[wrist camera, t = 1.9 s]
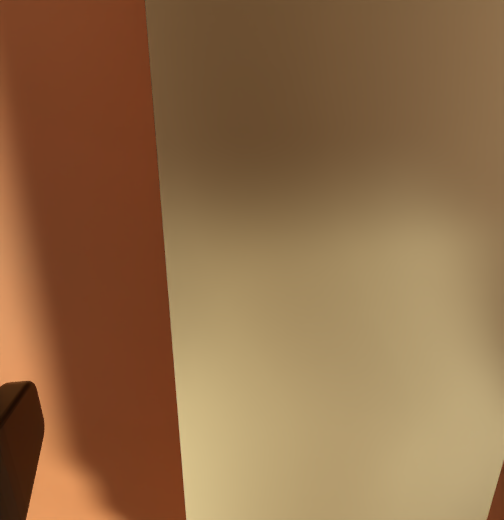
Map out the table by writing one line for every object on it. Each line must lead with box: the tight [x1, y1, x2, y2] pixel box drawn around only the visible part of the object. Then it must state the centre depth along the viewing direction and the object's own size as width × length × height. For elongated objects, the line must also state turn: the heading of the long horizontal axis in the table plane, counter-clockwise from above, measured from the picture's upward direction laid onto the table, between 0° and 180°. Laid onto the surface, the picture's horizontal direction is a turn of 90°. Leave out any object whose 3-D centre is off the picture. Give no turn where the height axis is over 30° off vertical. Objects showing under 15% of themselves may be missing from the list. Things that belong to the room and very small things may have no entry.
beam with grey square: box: [145, 0, 504, 520], centre depth 8 cm, size 4×14×5 cm, turn 0°
